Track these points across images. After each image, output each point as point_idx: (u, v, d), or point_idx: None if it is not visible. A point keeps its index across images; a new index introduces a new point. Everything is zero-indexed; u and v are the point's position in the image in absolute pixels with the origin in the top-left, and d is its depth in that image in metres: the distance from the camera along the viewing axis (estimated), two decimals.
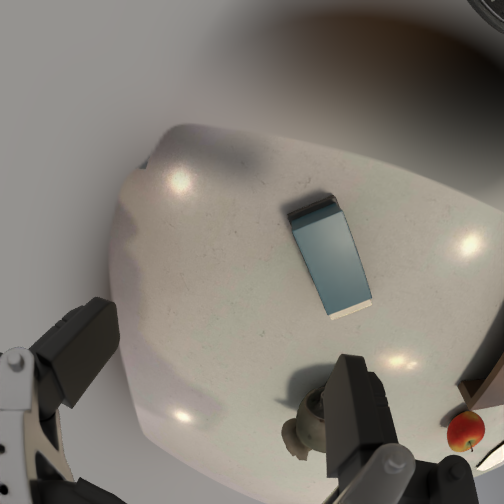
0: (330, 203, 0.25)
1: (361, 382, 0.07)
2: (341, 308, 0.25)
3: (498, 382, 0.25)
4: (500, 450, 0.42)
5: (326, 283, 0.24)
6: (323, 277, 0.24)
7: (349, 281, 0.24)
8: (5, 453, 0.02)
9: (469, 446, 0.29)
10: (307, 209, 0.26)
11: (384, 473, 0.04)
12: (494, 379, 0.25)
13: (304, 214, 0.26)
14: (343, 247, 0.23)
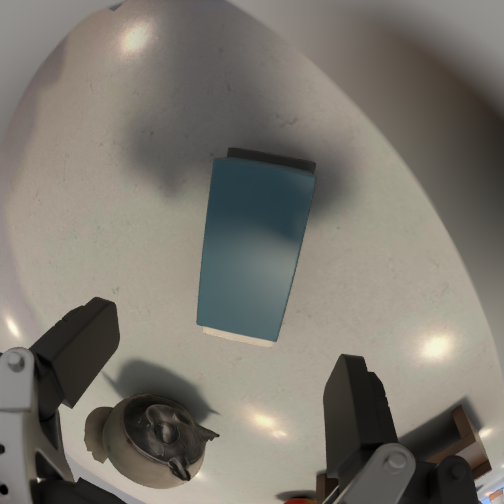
0: (302, 167, 0.15)
1: (361, 382, 0.07)
2: (221, 327, 0.15)
3: None
4: None
5: (219, 276, 0.14)
6: (220, 265, 0.14)
7: (256, 296, 0.14)
8: (5, 453, 0.02)
9: None
10: (263, 154, 0.15)
11: (384, 473, 0.04)
12: None
13: (254, 158, 0.15)
14: (280, 237, 0.13)
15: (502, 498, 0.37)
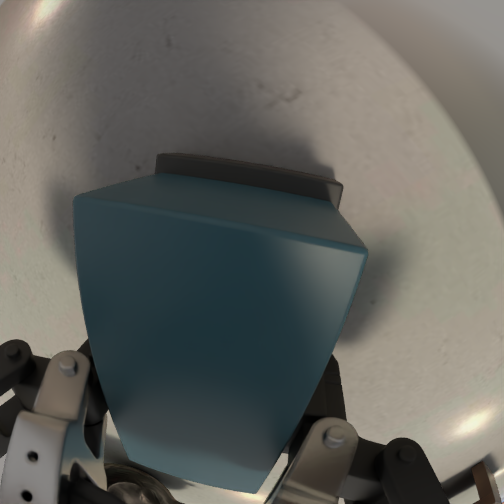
0: (314, 194, 0.07)
1: None
2: (166, 472, 0.07)
3: None
4: None
5: (140, 425, 0.06)
6: (137, 413, 0.06)
7: (215, 459, 0.06)
8: (37, 462, 0.03)
9: None
10: (228, 165, 0.07)
11: (321, 445, 0.05)
12: None
13: (209, 175, 0.07)
14: (255, 393, 0.05)
15: None
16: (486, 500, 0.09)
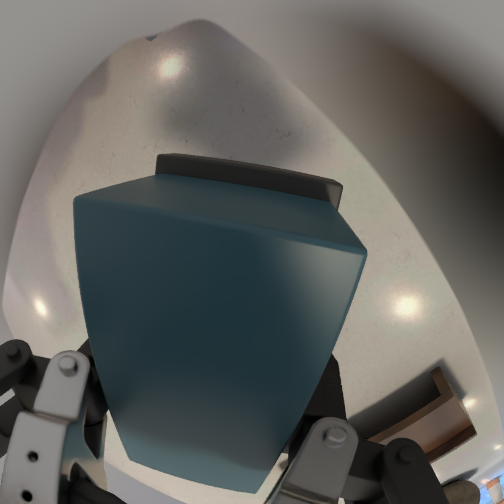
0: (314, 194, 0.07)
1: None
2: (167, 472, 0.07)
3: None
4: None
5: (141, 425, 0.06)
6: (137, 413, 0.06)
7: (215, 458, 0.06)
8: (37, 462, 0.03)
9: None
10: (228, 166, 0.07)
11: (320, 445, 0.05)
12: None
13: (209, 176, 0.07)
14: (255, 393, 0.05)
15: (499, 486, 0.44)
16: (446, 395, 0.24)
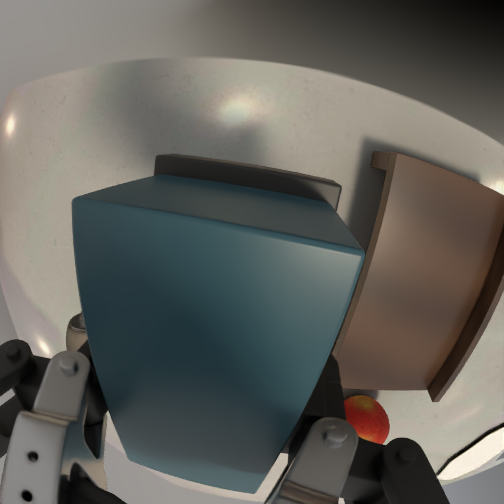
0: (313, 195, 0.07)
1: None
2: (166, 472, 0.07)
3: (365, 342, 0.22)
4: (467, 456, 0.39)
5: (140, 425, 0.06)
6: (137, 413, 0.06)
7: (214, 459, 0.06)
8: (37, 462, 0.03)
9: None
10: (226, 167, 0.07)
11: (321, 445, 0.05)
12: (349, 333, 0.22)
13: (207, 177, 0.07)
14: (253, 394, 0.05)
15: None
16: (390, 162, 0.18)
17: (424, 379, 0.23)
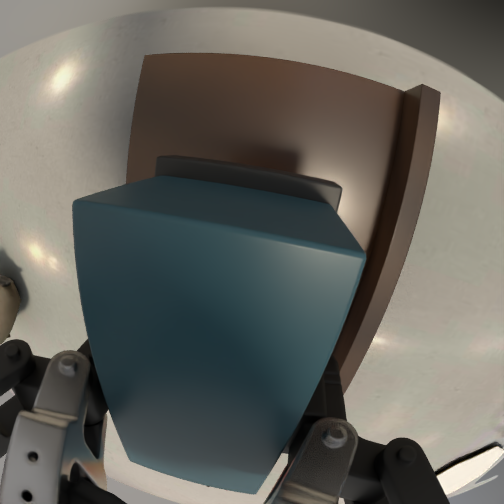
0: (313, 196, 0.07)
1: None
2: (167, 473, 0.07)
3: None
4: None
5: (140, 426, 0.06)
6: (137, 414, 0.06)
7: (215, 460, 0.06)
8: (37, 462, 0.03)
9: None
10: (227, 168, 0.07)
11: (321, 445, 0.05)
12: None
13: (208, 178, 0.07)
14: (254, 395, 0.05)
15: None
16: None
17: None
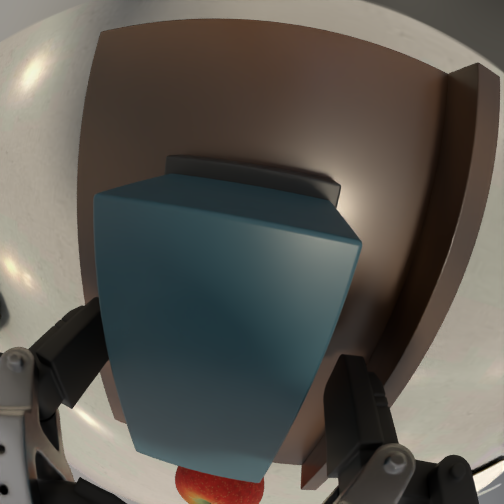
0: (314, 193, 0.07)
1: (361, 382, 0.07)
2: (173, 462, 0.07)
3: None
4: None
5: (150, 413, 0.06)
6: (147, 401, 0.06)
7: (221, 445, 0.06)
8: (5, 453, 0.02)
9: None
10: (234, 167, 0.07)
11: (384, 473, 0.04)
12: None
13: (216, 176, 0.07)
14: (261, 377, 0.05)
15: None
16: None
17: (285, 452, 0.14)
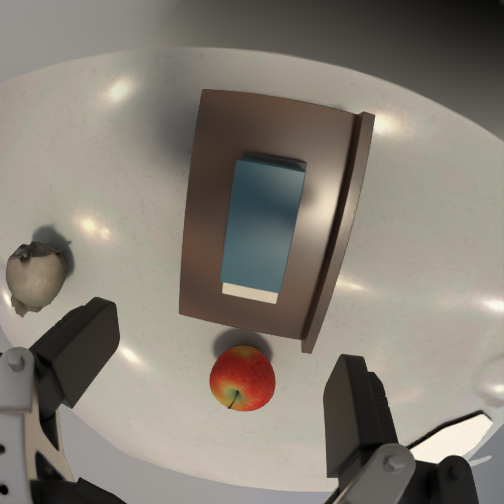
0: (297, 166, 0.21)
1: (361, 382, 0.07)
2: (239, 283, 0.21)
3: (202, 265, 0.26)
4: (425, 452, 0.43)
5: (238, 242, 0.20)
6: (239, 234, 0.19)
7: (265, 257, 0.20)
8: (5, 453, 0.02)
9: (238, 402, 0.29)
10: (269, 157, 0.21)
11: (384, 473, 0.04)
12: (185, 254, 0.26)
13: (262, 160, 0.21)
14: (281, 213, 0.19)
15: None
16: None
17: (290, 324, 0.27)
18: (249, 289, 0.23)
